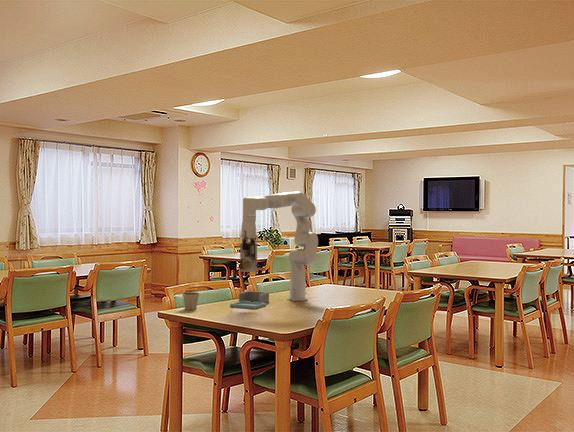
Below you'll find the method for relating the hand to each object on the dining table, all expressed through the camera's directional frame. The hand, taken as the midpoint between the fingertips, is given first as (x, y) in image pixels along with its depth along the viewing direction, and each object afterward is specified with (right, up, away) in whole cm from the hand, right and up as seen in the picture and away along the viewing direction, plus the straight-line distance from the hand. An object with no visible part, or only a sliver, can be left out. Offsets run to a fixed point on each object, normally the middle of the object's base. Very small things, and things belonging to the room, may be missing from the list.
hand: (248, 249), depth 318 cm
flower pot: (-31, -32, -12) cm, 46 cm away
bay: (+2, -33, +12) cm, 35 cm away
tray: (0, -32, 0) cm, 32 cm away
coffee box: (0, -13, 0) cm, 13 cm away
